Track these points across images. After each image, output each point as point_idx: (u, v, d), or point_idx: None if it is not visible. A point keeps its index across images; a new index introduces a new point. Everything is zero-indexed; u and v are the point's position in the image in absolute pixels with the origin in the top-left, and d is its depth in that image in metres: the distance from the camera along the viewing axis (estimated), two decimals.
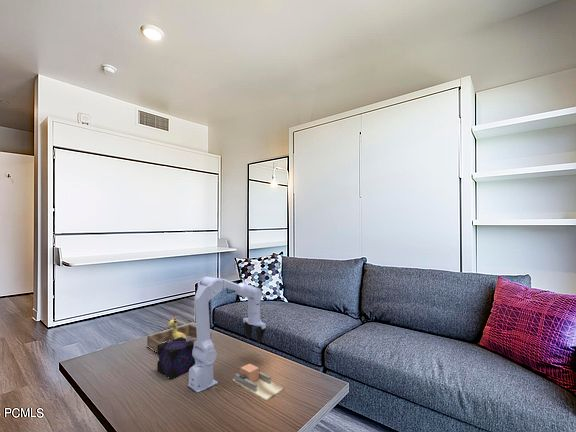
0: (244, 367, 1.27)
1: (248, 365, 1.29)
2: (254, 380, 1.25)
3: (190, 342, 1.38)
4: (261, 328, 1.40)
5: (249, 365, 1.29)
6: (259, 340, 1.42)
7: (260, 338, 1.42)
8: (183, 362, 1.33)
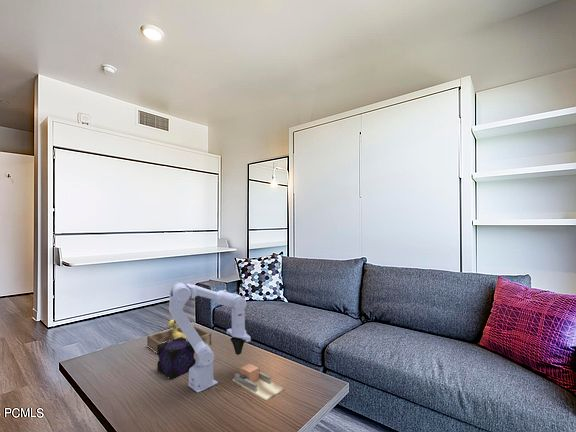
0: (244, 367, 1.27)
1: (248, 365, 1.29)
2: (254, 380, 1.25)
3: None
4: None
5: (249, 365, 1.29)
6: (238, 352, 1.31)
7: (239, 349, 1.31)
8: (183, 362, 1.33)
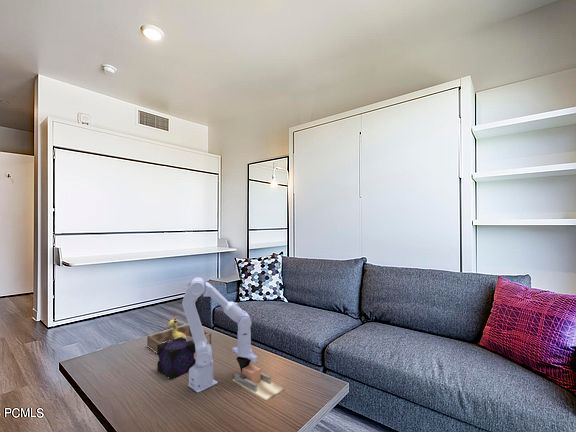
0: (246, 368, 1.26)
1: (250, 366, 1.28)
2: (256, 381, 1.24)
3: (190, 342, 1.38)
4: (252, 361, 1.24)
5: (251, 366, 1.28)
6: None
7: None
8: (183, 362, 1.33)
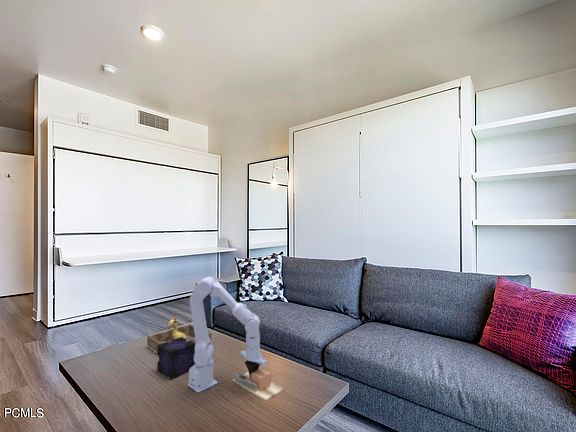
0: (255, 372, 1.22)
1: (259, 370, 1.24)
2: (265, 386, 1.20)
3: (190, 342, 1.38)
4: None
5: (260, 370, 1.24)
6: None
7: None
8: (183, 362, 1.33)
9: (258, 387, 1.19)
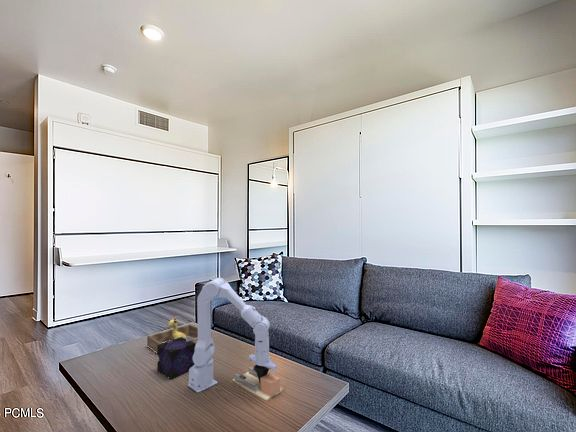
0: (264, 377, 1.18)
1: (268, 375, 1.20)
2: (275, 391, 1.16)
3: (190, 342, 1.38)
4: (271, 370, 1.16)
5: (269, 375, 1.20)
6: None
7: None
8: (183, 362, 1.33)
9: (268, 392, 1.15)
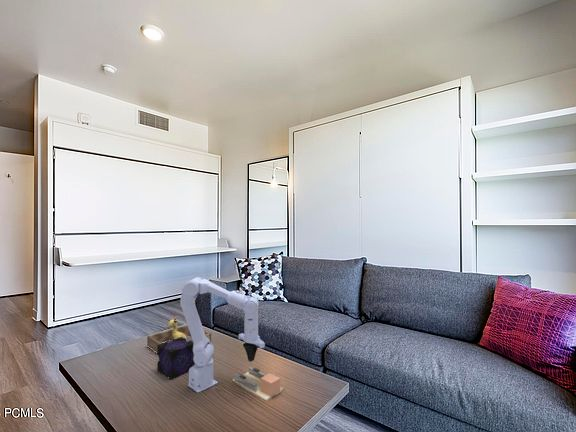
0: (264, 377, 1.18)
1: (268, 375, 1.20)
2: (276, 391, 1.16)
3: (190, 342, 1.38)
4: None
5: (269, 375, 1.20)
6: (251, 358, 1.23)
7: (252, 356, 1.24)
8: (183, 362, 1.33)
9: (268, 392, 1.15)
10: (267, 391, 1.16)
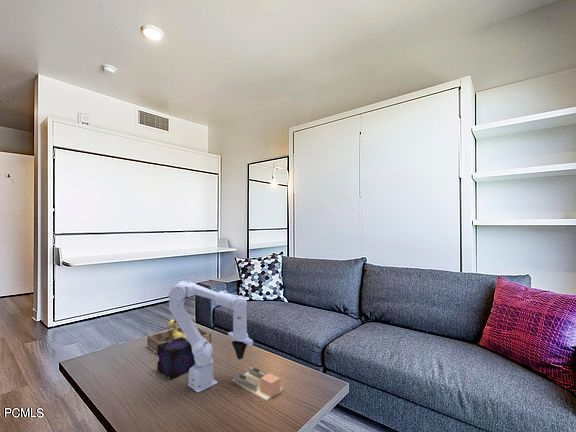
0: (264, 377, 1.18)
1: (268, 375, 1.20)
2: (276, 391, 1.16)
3: None
4: None
5: (269, 375, 1.20)
6: (240, 356, 1.25)
7: (241, 354, 1.26)
8: (183, 362, 1.33)
9: (268, 392, 1.15)
10: (267, 391, 1.16)
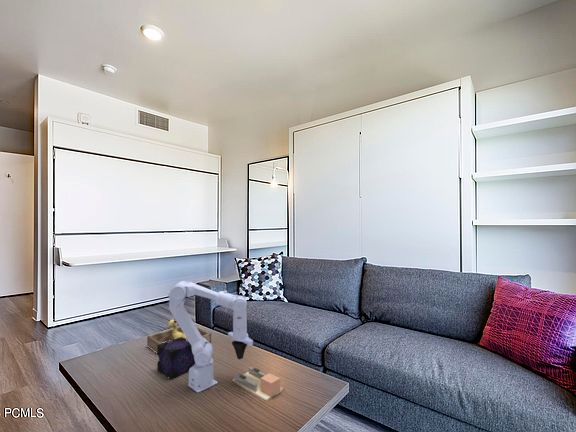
0: (264, 377, 1.18)
1: (268, 375, 1.20)
2: (276, 391, 1.16)
3: None
4: None
5: (269, 375, 1.20)
6: (240, 356, 1.25)
7: (241, 354, 1.26)
8: (183, 362, 1.33)
9: (268, 392, 1.15)
10: (267, 391, 1.16)
